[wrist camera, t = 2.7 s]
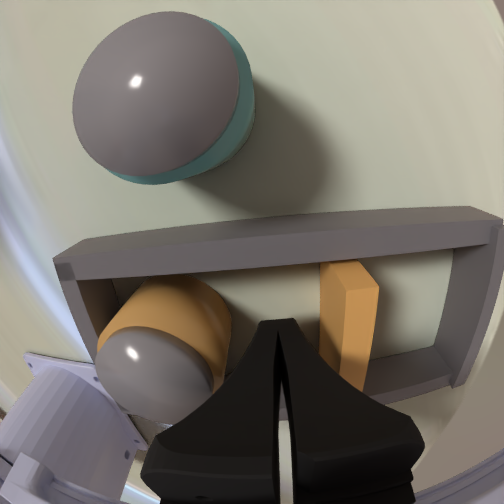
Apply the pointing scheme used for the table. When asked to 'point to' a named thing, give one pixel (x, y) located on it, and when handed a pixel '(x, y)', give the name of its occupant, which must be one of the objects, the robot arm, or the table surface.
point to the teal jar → (164, 99)
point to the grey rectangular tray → (309, 251)
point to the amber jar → (165, 348)
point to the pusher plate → (347, 318)
